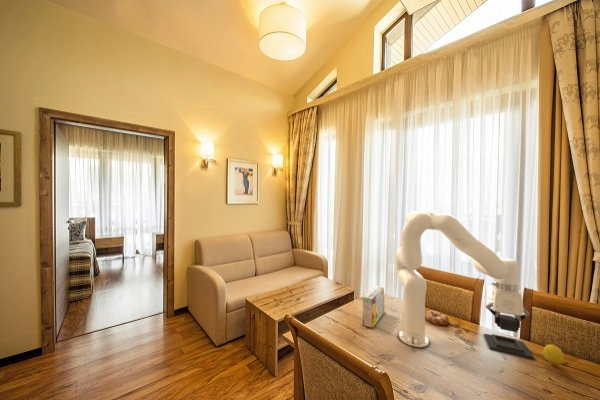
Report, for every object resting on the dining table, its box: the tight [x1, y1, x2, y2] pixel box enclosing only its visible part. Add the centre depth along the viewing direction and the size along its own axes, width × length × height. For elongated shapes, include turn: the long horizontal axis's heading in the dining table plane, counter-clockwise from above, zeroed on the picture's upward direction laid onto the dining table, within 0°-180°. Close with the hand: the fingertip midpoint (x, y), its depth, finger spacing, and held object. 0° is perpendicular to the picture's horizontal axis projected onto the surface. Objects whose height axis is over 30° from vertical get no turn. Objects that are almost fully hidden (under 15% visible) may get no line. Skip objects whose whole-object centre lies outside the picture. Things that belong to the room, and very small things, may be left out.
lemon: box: [542, 344, 565, 366], centre depth 93 cm, size 6×6×8 cm
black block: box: [499, 313, 518, 333], centre depth 105 cm, size 6×6×4 cm
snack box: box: [362, 284, 386, 329], centre depth 129 cm, size 21×6×15 cm, turn 144°
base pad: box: [483, 333, 534, 360], centre depth 104 cm, size 12×14×2 cm
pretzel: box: [425, 310, 449, 326], centre depth 127 cm, size 12×11×4 cm
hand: (507, 326), depth 104 cm, fingers closed on black block, 5 cm apart
